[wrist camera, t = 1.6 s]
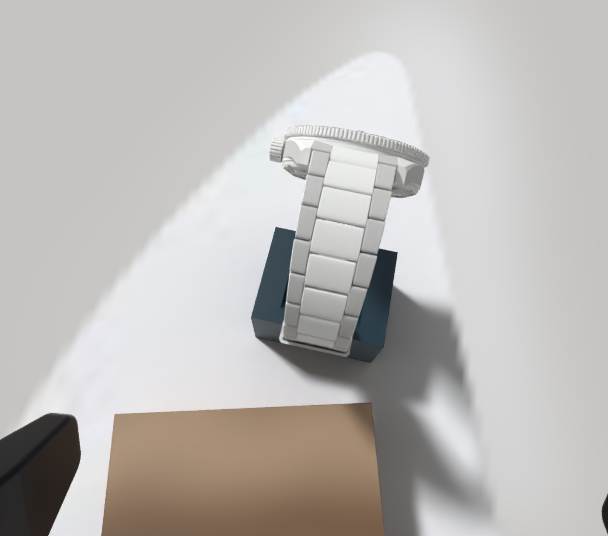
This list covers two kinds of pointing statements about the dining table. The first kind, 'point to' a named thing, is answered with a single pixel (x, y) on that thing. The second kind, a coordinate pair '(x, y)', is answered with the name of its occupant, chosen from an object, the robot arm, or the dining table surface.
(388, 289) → the watch
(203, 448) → the plinth
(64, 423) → the robot arm
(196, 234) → the dining table surface
